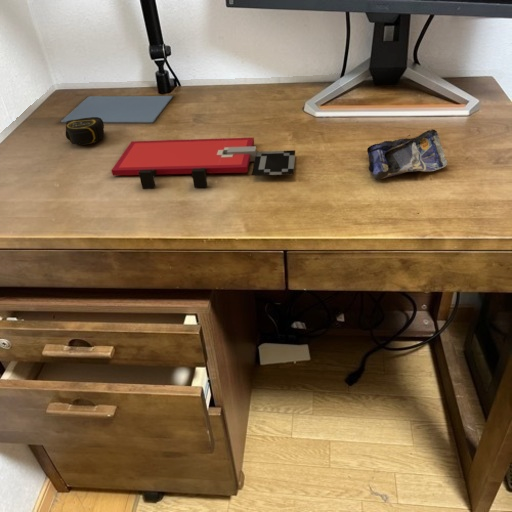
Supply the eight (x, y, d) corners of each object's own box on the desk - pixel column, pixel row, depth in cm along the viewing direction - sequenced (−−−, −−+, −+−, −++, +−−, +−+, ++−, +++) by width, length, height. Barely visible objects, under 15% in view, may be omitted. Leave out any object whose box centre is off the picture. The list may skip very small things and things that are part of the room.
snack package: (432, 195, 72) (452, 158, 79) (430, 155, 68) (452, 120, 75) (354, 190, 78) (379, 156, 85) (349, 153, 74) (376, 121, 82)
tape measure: (106, 131, 97) (101, 112, 95) (105, 145, 92) (100, 126, 89) (70, 136, 96) (65, 117, 94) (67, 151, 91) (61, 132, 89)
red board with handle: (293, 185, 75) (296, 143, 87) (292, 169, 74) (295, 128, 85) (105, 189, 79) (133, 148, 91) (101, 173, 77) (129, 134, 89)
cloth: (60, 122, 102) (60, 121, 102) (89, 97, 113) (88, 96, 112) (153, 123, 99) (152, 121, 98) (173, 97, 109) (172, 95, 109)
